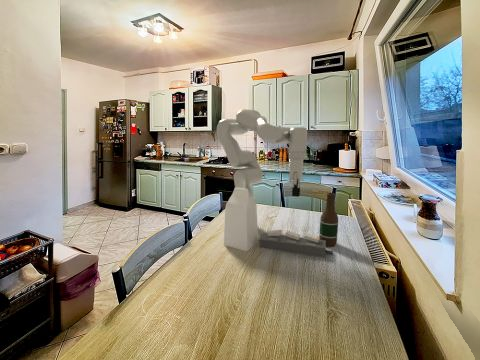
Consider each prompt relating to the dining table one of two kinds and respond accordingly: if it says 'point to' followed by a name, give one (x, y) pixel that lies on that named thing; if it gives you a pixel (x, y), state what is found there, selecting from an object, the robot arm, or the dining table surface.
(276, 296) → the dining table surface
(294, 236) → the rocker mid
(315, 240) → the rocker
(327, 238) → the beer bottle
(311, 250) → the power strip
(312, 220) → the dining table surface
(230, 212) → the milk
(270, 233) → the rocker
